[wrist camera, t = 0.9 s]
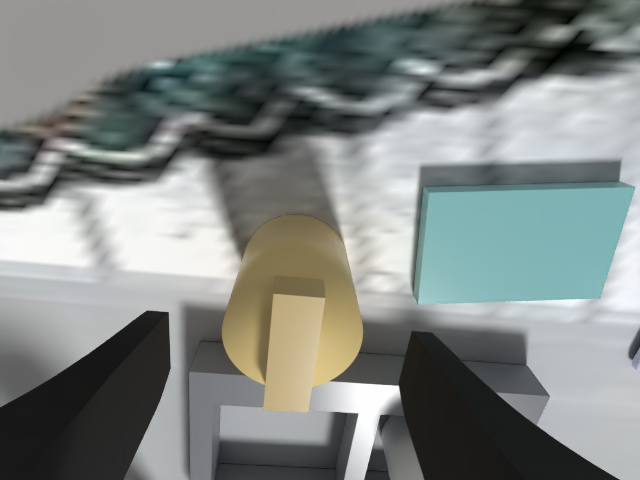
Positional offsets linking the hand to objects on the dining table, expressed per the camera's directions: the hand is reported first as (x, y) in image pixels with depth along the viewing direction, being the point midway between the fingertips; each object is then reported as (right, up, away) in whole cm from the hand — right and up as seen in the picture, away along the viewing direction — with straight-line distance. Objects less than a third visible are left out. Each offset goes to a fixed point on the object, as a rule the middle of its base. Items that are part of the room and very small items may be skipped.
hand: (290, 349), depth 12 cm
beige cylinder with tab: (0, +2, +5) cm, 6 cm away
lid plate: (+9, +3, +5) cm, 11 cm away
